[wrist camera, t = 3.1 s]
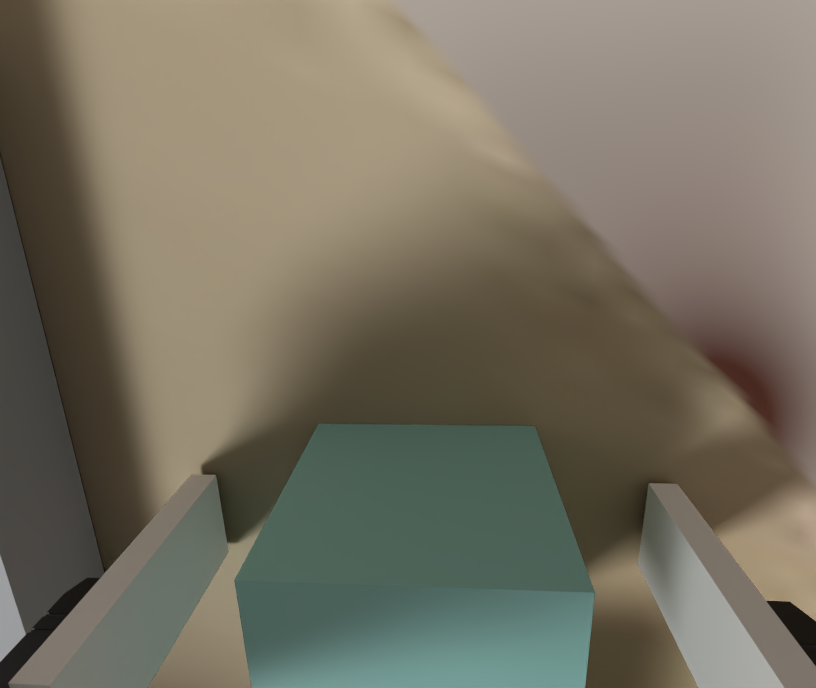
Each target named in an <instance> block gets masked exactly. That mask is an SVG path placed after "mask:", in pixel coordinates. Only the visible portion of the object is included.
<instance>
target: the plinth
mask: <svg viewBox="0 0 816 688" xmlns="http://www.w3.org/2000/svg"><path fill="white" fill-rule="evenodd" d="M103 575H104V570H103V566H102V562H101V558H100V554H99V550H98V546H97V542H96V538H95V534H94V530H93V526H92V522H91V518H90V514H89V510H88V506H87V502H86V498H85V494H84V490H83V486H82V482H81V478H80V474H79V470H78V466H77V462H76V458H75V454H74V450H73V446H72V442H71V438H70V434H69V430H68V426H67V422H66V418H65V414H64V410H63V406H62V402H61V398H60V394H59V390H58V386H57V382H56V378H55V374H54V370H53V366H52V362H51V358H50V354H49V350H48V346H47V342H46V338H45V334H44V330H43V326H42V322H41V318H40V314H39V310H38V306H37V302H36V298H35V294H34V290H33V286H32V282H31V278H30V274H29V270H28V266H27V262H26V258H25V254H24V250H23V246H22V242H21V238H20V234H19V230H18V226H17V222H16V218H15V214H14V210H13V206H12V202H11V198H10V194H9V190H8V186H7V182H6V178H5V174H4V170H3V166H2V162H1V158H0V662H1V661H2V660H3V659H4V657H5V656H6V655H7V654H8V653H9V652H10V651H11V650H12V649H13V648H14V647H15V646H16V645H17V644H18V642H19V641H20V640H21V639H22V638H23V637H24V636H25V635H26V634H27V633H28V632H29V633H30V632H31V630H32V627H33V626H34V625H35V624H36V623H37V622H38V621H39V620H40V619H41V618H42V617H43V616H46V612H47V611H48V610H49V609H50V608H51V607H52V606H53V605H54V604H55V603H56V602H57V601H58V600H59V599H60V597H61V596H62V595H63V594H64V593H66V592H67V591H69V590H70V589H71V588H73V587H74V586H76V585H77V584H79V583H80V582H82V581H83V580H85V579H86V578H87V577H88V578H101V577H102V576H103Z"/></svg>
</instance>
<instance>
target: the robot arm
mask: <svg viewBox="0 0 816 688" xmlns="http://www.w3.org/2000/svg"><path fill="white" fill-rule="evenodd" d="M228 552H229V551H228V545H227V539H226V533H225V527H224V520H223V514H222V508H221V502H220V496H219V489H218V483H217V477H216V475H191V476H190V477H189V478H188V479H187V480H186V481H185V482H184V483H183V485H182V486H181V487H180V488H179V489H178V490H177V491H176V493H175V494H174V495H173V496H172V497H171V498H170V499H169V501H168V502H167V503H166V504H165V505H164V506H163V507H162V509H161V510H160V511H159V512H158V513H157V514H156V515H155V517H154V518H153V519H152V520H151V521H150V522H149V523H148V524H147V526H146V527H145V528H144V529H143V530H142V531H141V532H140V534H139V535H138V536H137V537H136V538H135V539H134V540H133V542H132V543H131V544H130V545H129V546H128V547H127V548H126V550H125V551H124V552H123V553H122V554H121V555H120V556H119V558H118V559H117V560H116V561H115V562H114V563H113V564H112V565H111V567H110V568H109V569H108V570H107V571H106V572H105V573H104V575H103V576H102V577H101V578H88V577H87V578H86V579H85V580H83V581H82V582H80V583H79V584H77V585H76V586H74V587H73V588H71V589H70V590H69V591H67V592H66V593H64V594H63V595H62V596H61V597H60V599H59V600H58V601H57V602H56V603H55V604H54V605H53V606H52V607H51V608H50V609H49V610H48V611H47V612H46V616H43V617H42V618H41V619H40V620H39V621H38V622H37V623H36V624H35V625H34V626H33V627H32V630H31V632H30V633H29V632H28V633H27V634H26V635H25V636H24V637H23V638H22V639H21V640H20V641H19V642H18V644H17V645H16V646H15V647H14V648H13V649H12V650H11V651H10V652H9V653H8V654H7V655H6V656H5V657H4V659H3V660H2V661H1V662H0V688H148V687H149V685H150V683H151V681H152V680H153V678H154V676H155V675H156V673H157V671H158V670H159V668H160V666H161V665H162V663H163V661H164V660H165V658H166V656H167V655H168V653H169V651H170V649H171V648H172V646H173V644H174V643H175V641H176V639H177V638H178V636H179V634H180V633H181V631H182V629H183V628H184V626H185V624H186V623H187V621H188V619H189V617H190V616H191V614H192V612H193V611H194V609H195V607H196V606H197V604H198V602H199V601H200V599H201V597H202V596H203V594H204V592H205V591H206V589H207V587H208V586H209V584H210V582H211V580H212V579H213V577H214V575H215V574H216V572H217V570H218V569H219V567H220V565H221V564H222V562H223V560H224V559H225V557H226V555H227V554H228ZM638 566H639V568H640V570H641V572H642V574H643V576H644V578H645V580H646V582H647V584H648V586H649V589H650V591H651V593H652V595H653V597H654V599H655V601H656V603H657V605H658V607H659V609H660V611H661V613H662V615H663V617H664V619H665V621H666V623H667V625H668V627H669V629H670V631H671V633H672V635H673V637H674V639H675V641H676V643H677V645H678V647H679V649H680V651H681V653H682V655H683V657H684V659H685V661H686V663H687V665H688V668H689V670H690V672H691V674H692V676H693V678H694V680H695V682H696V684H697V686H698V688H816V621H814V620H813V619H812V618H810V617H809V616H808V615H807V614H805V613H804V612H803V611H801V610H800V609H799V608H797V607H796V606H795V605H793V604H792V603H791V602H782V601H766V600H765V599H764V598H763V596H762V595H761V594H760V592H759V591H758V590H757V588H756V587H755V586H754V584H753V583H752V582H751V580H750V579H749V578H748V576H747V575H746V574H745V572H744V571H743V570H742V568H741V567H740V566H739V564H738V563H737V562H736V561H735V559H734V558H733V557H732V555H731V554H730V553H729V551H728V550H727V549H726V547H725V546H724V545H723V543H722V542H721V541H720V539H719V538H718V537H717V535H716V534H715V533H714V531H713V530H712V529H711V528H710V526H709V525H708V524H707V522H706V521H705V520H704V518H703V517H702V516H701V514H700V513H699V512H698V510H697V509H696V508H695V506H694V505H693V504H692V502H691V501H690V500H689V498H688V497H687V496H686V495H685V493H684V492H683V491H682V489H681V488H680V487H679V485H678V484H663V483H649V485H648V492H647V500H646V507H645V515H644V522H643V529H642V537H641V544H640V552H639V559H638Z"/></svg>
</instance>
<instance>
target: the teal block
mask: <svg viewBox="0 0 816 688" xmlns="http://www.w3.org/2000/svg"><path fill="white" fill-rule="evenodd" d="M234 581H235V587H236V593H237V600H238V606H239V612H240V618H241V625H242V631H243V637H244V644H245V650H246V656H247V663H248V669H249V675H250V682H251V688H585V684H586V674H587V664H588V655H589V645H590V636H591V626H592V617H593V607H594V598H595V591H594V589H593V586H592V583H591V580H590V578H589V575H588V572H587V569H586V566H585V564H584V561H583V558H582V555H581V553H580V550H579V547H578V544H577V541H576V539H575V536H574V533H573V530H572V528H571V525H570V522H569V519H568V517H567V514H566V511H565V508H564V505H563V503H562V500H561V497H560V494H559V492H558V489H557V486H556V483H555V481H554V478H553V475H552V472H551V469H550V467H549V464H548V461H547V458H546V456H545V453H544V450H543V447H542V444H541V442H540V439H539V436H538V433H537V431H536V428H535V426H492V425H396V424H318V426H317V427H316V429H315V431H314V433H313V435H312V437H311V439H310V440H309V442H308V444H307V446H306V448H305V450H304V452H303V453H302V455H301V457H300V459H299V461H298V463H297V465H296V467H295V468H294V470H293V472H292V474H291V476H290V478H289V480H288V481H287V483H286V485H285V487H284V489H283V491H282V493H281V494H280V496H279V498H278V500H277V502H276V504H275V506H274V507H273V509H272V511H271V513H270V515H269V517H268V519H267V521H266V522H265V524H264V526H263V528H262V530H261V532H260V534H259V535H258V537H257V539H256V541H255V543H254V545H253V547H252V548H251V550H250V552H249V554H248V556H247V558H246V560H245V562H244V563H243V565H242V567H241V569H240V571H239V573H238V575H237V576H236V578H235V580H234Z"/></svg>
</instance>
